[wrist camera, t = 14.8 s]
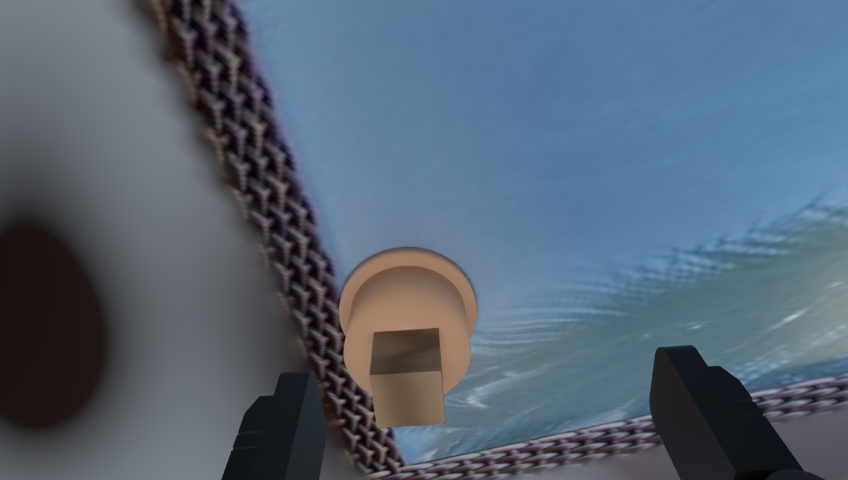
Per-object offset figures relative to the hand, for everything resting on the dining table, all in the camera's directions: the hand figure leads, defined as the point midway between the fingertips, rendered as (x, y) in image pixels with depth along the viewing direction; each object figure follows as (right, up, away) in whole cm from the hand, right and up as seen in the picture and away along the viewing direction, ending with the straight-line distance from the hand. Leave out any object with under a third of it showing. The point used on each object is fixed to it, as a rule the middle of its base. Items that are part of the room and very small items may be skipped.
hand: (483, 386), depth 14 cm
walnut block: (-3, -6, +33) cm, 33 cm away
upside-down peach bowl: (-3, -2, +39) cm, 39 cm away
